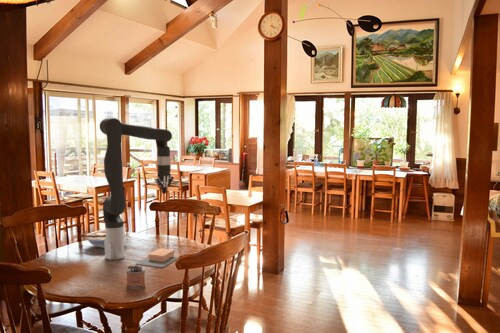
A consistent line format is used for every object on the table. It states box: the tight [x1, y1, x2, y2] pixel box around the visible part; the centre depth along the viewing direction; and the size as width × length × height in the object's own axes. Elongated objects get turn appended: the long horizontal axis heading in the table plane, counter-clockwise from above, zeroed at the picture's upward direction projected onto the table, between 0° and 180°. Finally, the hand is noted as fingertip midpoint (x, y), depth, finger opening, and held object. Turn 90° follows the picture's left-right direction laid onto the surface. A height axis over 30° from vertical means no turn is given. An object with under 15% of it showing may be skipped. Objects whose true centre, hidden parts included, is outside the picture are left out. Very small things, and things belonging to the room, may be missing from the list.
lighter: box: [125, 264, 146, 290], centre depth 178 cm, size 8×3×10 cm, turn 92°
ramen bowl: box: [78, 229, 127, 249], centre depth 239 cm, size 25×23×8 cm
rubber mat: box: [135, 256, 179, 269], centre depth 213 cm, size 16×16×1 cm
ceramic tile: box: [148, 247, 175, 262], centre depth 216 cm, size 3×9×11 cm
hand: (164, 193), depth 236 cm, fingers closed
